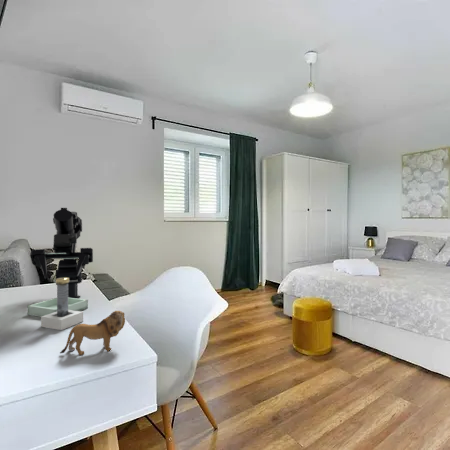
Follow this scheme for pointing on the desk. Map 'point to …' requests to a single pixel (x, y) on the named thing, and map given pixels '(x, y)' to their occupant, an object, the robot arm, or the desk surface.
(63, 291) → the pin
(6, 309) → the desk surface
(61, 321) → the socket block
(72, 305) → the tray
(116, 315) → the lion figurine
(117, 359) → the desk surface
